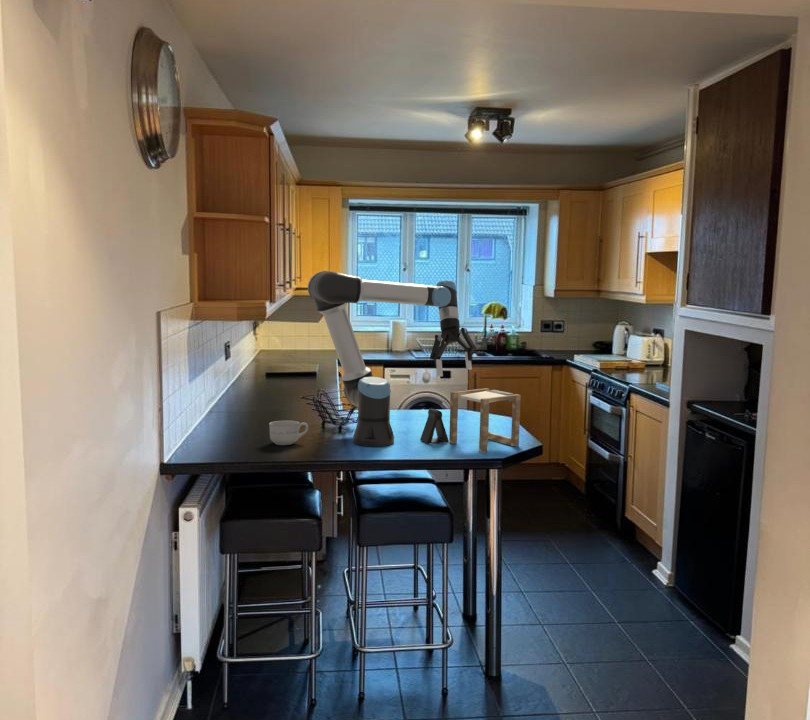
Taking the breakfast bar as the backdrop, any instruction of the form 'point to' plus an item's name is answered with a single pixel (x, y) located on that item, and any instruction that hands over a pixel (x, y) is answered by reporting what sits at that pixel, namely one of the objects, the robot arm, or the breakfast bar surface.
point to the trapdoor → (486, 395)
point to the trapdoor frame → (486, 419)
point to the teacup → (286, 432)
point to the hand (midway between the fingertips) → (454, 372)
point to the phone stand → (434, 423)
